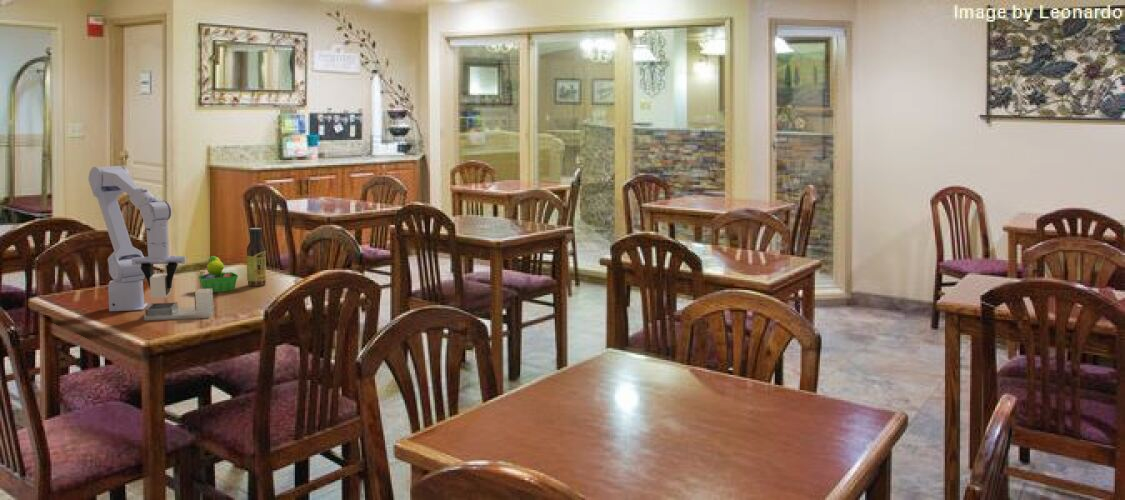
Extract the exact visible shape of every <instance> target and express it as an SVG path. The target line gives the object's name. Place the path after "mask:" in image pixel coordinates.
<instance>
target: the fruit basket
mask: <svg viewBox="0 0 1125 500" xmlns="http://www.w3.org/2000/svg"><path fill="white" fill-rule="evenodd" d="M224 268H225V265H224V263H223V262H222V261H221V259H220V258H219V257H217V256H215V255H212V256H210V257H209V259H208V264H207V265H206V271H207V273H206V274H201V275H197V278H198V280H199V282H200V284H201V285H200V286H201V289H213V293H218V292H228V291H235V289H236V284H237V279H238V276H239V274H236V273H235V272H231V271H228V272H225V271H223V270H224Z"/></svg>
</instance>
